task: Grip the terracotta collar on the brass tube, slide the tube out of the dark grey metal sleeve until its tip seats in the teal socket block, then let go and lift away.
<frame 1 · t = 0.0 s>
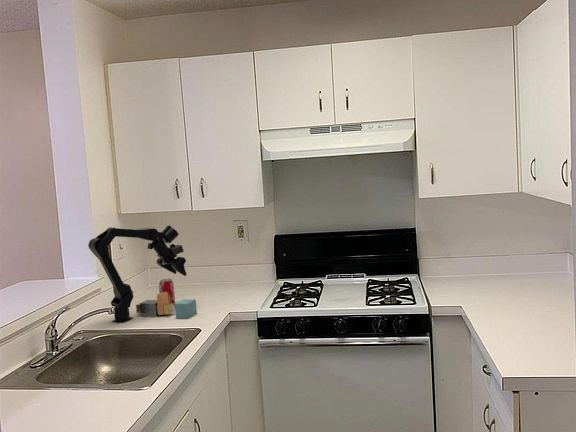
hand: (180, 274, 277), 15 cm above the worktop, tool tilted 35°, fingers open, 9 cm apart
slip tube: (154, 303, 263), point 5 cm above the worktop, slide at 0.0 cm
sleeve: (152, 314, 264), on the worktop
soda can: (168, 304, 282), on the worktop
socket block: (186, 315, 258), on the worktop
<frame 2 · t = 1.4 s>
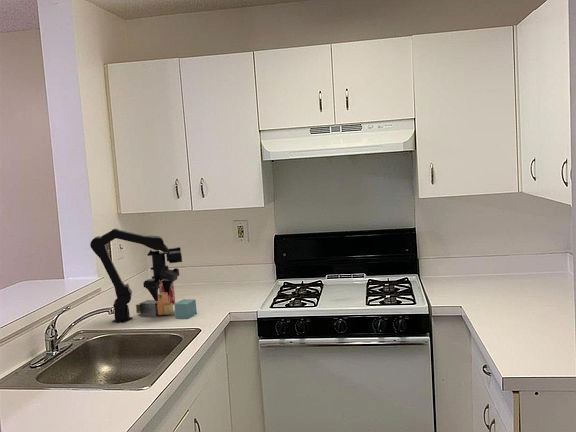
hand: (162, 298, 261), 8 cm above the worktop, tool pointing down, fingers open, 9 cm apart
nothing on the worktop moved.
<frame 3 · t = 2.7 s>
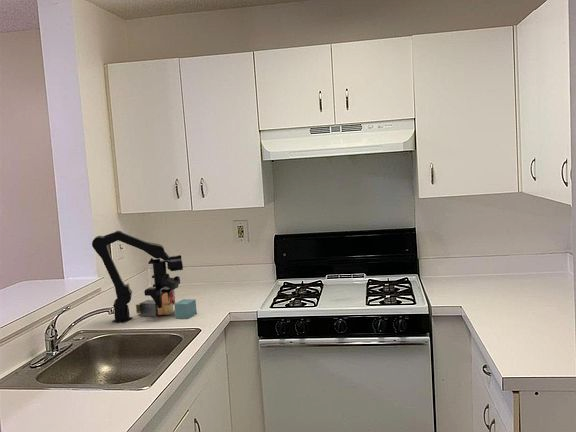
hand: (163, 306, 262), 4 cm above the worktop, tool pointing down, fingers closed on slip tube, 5 cm apart
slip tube: (154, 303, 263), point 5 cm above the worktop, slide at 0.0 cm, touching gripper
everything else where it was.
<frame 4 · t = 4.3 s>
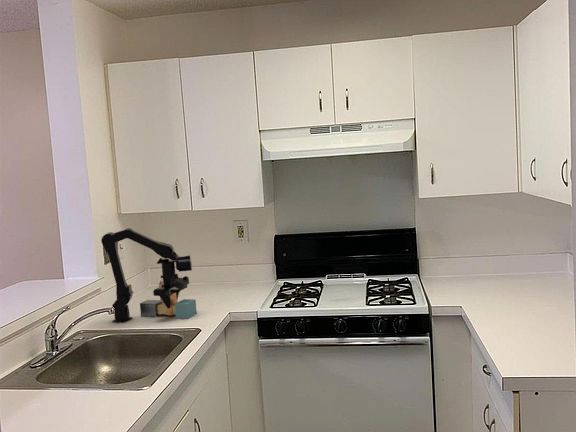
hand: (171, 306, 260), 4 cm above the worktop, tool pointing down, fingers closed on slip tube, 5 cm apart
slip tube: (162, 303, 262), point 5 cm above the worktop, slide at 4.5 cm, touching gripper
everything else where it was.
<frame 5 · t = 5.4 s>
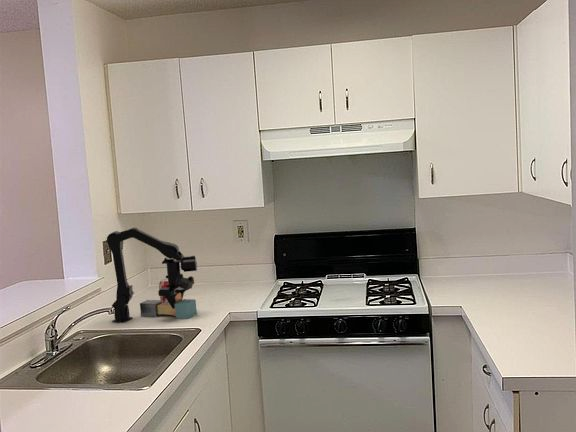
hand: (176, 306, 259), 4 cm above the worktop, tool pointing down, fingers closed on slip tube, 5 cm apart
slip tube: (167, 303, 261), point 5 cm above the worktop, slide at 7.0 cm, touching gripper
everything else where it was.
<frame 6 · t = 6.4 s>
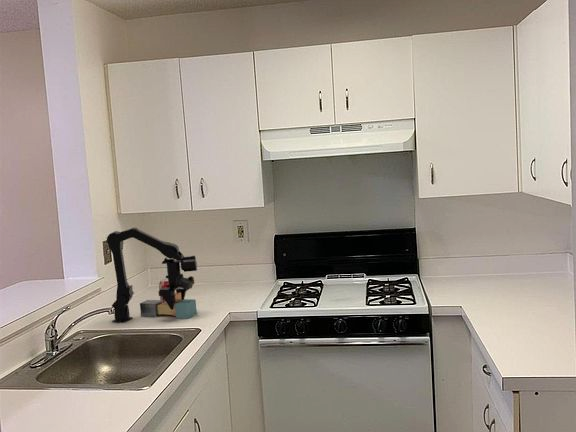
hand: (177, 306, 259), 4 cm above the worktop, tool pointing down, fingers open, 8 cm apart
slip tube: (167, 303, 261), point 5 cm above the worktop, slide at 7.0 cm
everything else where it was.
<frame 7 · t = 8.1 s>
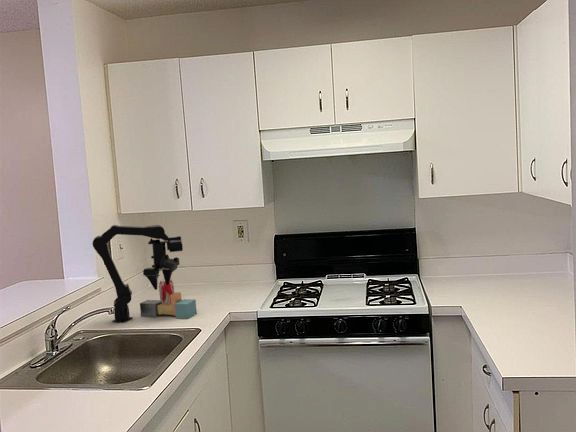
hand: (161, 287, 262), 13 cm above the worktop, tool pointing down, fingers open, 9 cm apart
nothing on the worktop moved.
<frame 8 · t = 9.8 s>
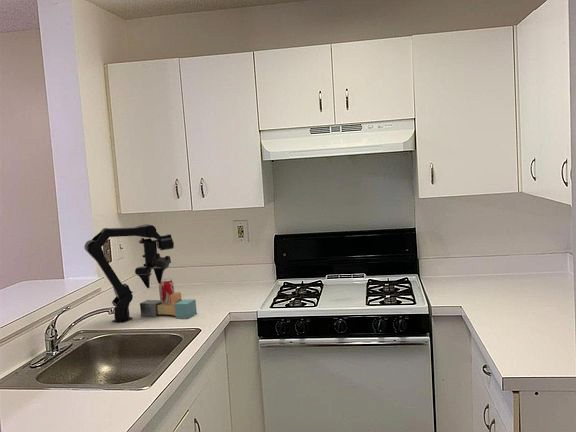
hand: (154, 285, 264), 13 cm above the worktop, tool pointing down, fingers open, 9 cm apart
nothing on the worktop moved.
at the end: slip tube slide at 7.0 cm; the gripper is holding nothing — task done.
